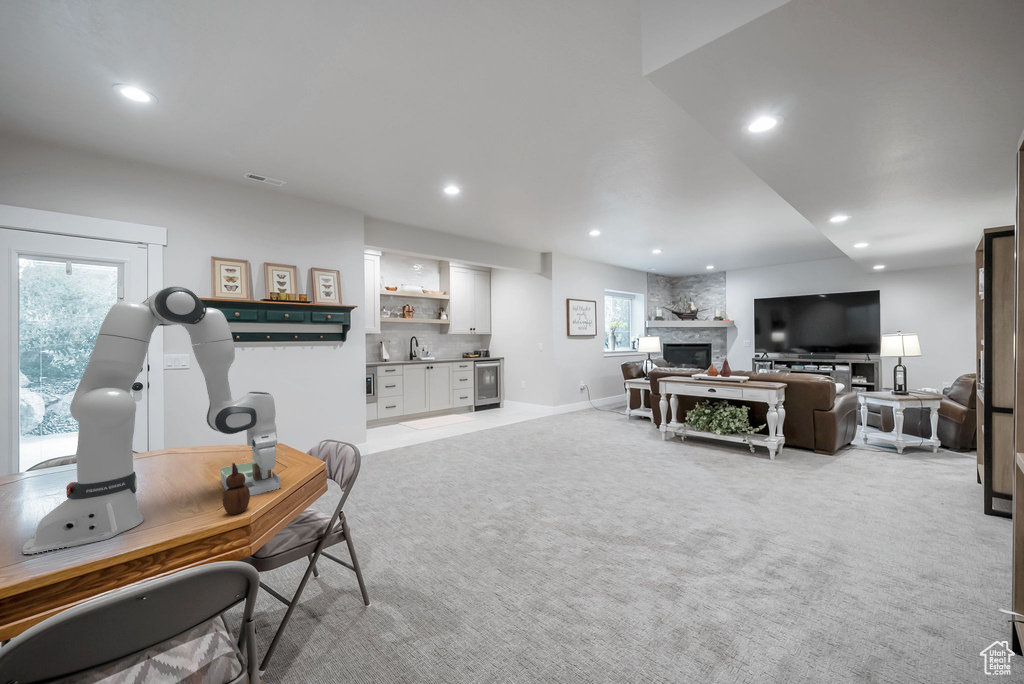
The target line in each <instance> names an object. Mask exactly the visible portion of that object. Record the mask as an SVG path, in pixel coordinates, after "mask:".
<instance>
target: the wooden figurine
mask: <svg viewBox="0 0 1024 684" xmlns="http://www.w3.org/2000/svg"><path fill="white" fill-rule="evenodd" d="M235 465H236V462H232V464H231V466H232V474H231V475H229V476H228V477H227V479H226V486H227V487H228V489H227V490H226V489H225V491H224V492H223V495H222V506H223V509H224V511H225V512H226V514H228V515H238V514H241V513H243V512H244V511H246V510H247V509H248V507H249V503H250V500H251V499H250V498H251V496H250V491H249V488H248V487H247V486H246V485H243V484H244V483H245V475H244V474H243V473H238V469H237V467H236V466H235Z"/></svg>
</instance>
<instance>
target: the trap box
mask: <svg viewBox="0 0 1024 684" xmlns="http://www.w3.org/2000/svg"><path fill="white" fill-rule="evenodd" d="M252 464H256V462H255V461H254V460H253V461H249V462H244V463H239V464H235V466H236V467H237V469H238V473H243V474H244V475H245V483H244V484H243V485H246V486H247V487H248V488H249V491H250V497H251V496H255V495H259V494H264V493H268V492H267V491H269V492H272V491H271V490H273V491H276V490H275V489H277V490H280V489H279V488H281V476H280V475H278V473H276V471H274V470H271V475H272V478H267V479H262V480H258V481H255V480H254V479H253V470H252ZM231 474H232V465H228V466H223V467H220V479H221V480H220V482H221V484H222V486H223V487H224V489H225V491H226V490H227V489H228V487H227V486H226V479H227V477H228V476H229V475H231Z"/></svg>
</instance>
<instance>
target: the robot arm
mask: <svg viewBox="0 0 1024 684" xmlns="http://www.w3.org/2000/svg"><path fill="white" fill-rule="evenodd" d="M173 325H174V326H175V325H176V326H177V325H181V326H182V327H183V328H184V329H185V330H186V331H187V333H188V335H189V339H190V345H191V346H192V351H193V353H194V356H195V360H196V361H197V364H198V367H199V368H200V371H201V372H202V375H203V377H204V379H205V386H206V389H207V394H208V400H209V407H208V410H207V414H206V423H207V425H208V426H209V428H210V429H212V430H213V431H215V432H219V433H222V434H224V435H234V434H237V433H241V432H244V431H246V445H247V446H249V447H251V449H252V459H253V461H255V462H256V463H257V465H258V466H259V469H260V476H261V478H262V479H266V478H268V470H270V469H271V470H274V469H275V466H276V457H277V456H276V455H277V451H276V450H277V448H276V446H277V445H278V437H277V436H278V435H277V434H278V433H277V425H276V422H275V421H276V420H275V419H276V415H277V414H276V406H275V399H274V397H273V395H272V394H271V393H269V392H264V391H250V392H247V393H246V394H245V395H243V396H242V397H240V398H239V399H236V400H235V401H234V400H233V397H232V391H231V387H230V382H229V372H230V369H231V367H232V364H233V363H234V362H235V361H234V360H235V356H236V351H235V343H234V342H235V341H234V339H233V335H232V331H231V328H230V325H229V323H228V320H227V318H226V316H225V314H224V313H223V311H222V310H220V309H217V308H215V307H214V308H213V307H207V305H206V304H205V303H203V301H202V300H201V299H200V298H199V297H198V296H197V295H196V294H195V292H194V291H191V289H189V288H185V287H182V286H170V287H166V288H164V289H163V288H162V289H160V290H158V291H156V292H154V293H153V294H151V296H149V297H148V298H146V299H145V300H144V301H142V302H139V301H138V302H137V301H134V300H124V301H119V302H115V303H114V304H113V305H112V306H111V308H110V309H109V311H108V312H107V314H106V316H105V318H104V319H103V322H102V324H101V326H100V329H99V331H98V333H97V337H96V340H95V342H94V346H93V349H92V352H91V354H90V357H89V361H88V364H87V366H86V368H85V370H84V372H83V375H82V376H81V378H80V380H79V383H78V385H77V388H76V390H75V393H74V394H73V398H72V400H71V403H70V407H69V410H70V415H71V417H72V418H73V419H74V420H75V421H77V422H78V435H77V436H78V437H77V446H76V452H75V455H76V456H75V457H76V460H75V461H76V475H77V476H76V477H77V481H72V482H70V483H68V484H67V486H66V488H65V489H66V499H65V501H62V502H61V503H60V504H59V505H57V506H55V508H54V509H52V510H51V511H50V512H49V513H47V514H46V515H45V516H44V517H42V519H41V520H40V521H39V523H38V525H37V527H36V529H35V536H34V537H32V538H30V539H29V540H27V541H26V542H25V543H24V544H23V545H22V549H21V550H22V551H23V553H26V554H32V555H34V554H33V553H37V552H42V553H44V552H43V551H47V552H49V551H48V550H52V549H57V550H60V549H59V548H62V549H65V548H64V547H67V548H70V547H76V546H81V545H85V544H89V543H90V544H91V543H94V542H95V543H96V542H99V541H106V540H109V539H111V538H113V537H115V536H116V535H118V534H121V533H123V532H125V531H128V530H131V529H133V528H135V527H137V526H138V525H141V523H143V522H144V520H145V519H144V517H143V515H142V513H141V509H140V507H139V504H138V503H139V502H138V500H137V494H136V492H137V489H138V484H137V483H138V482H137V473H136V472H135V470H134V456H133V454H134V453H133V441H134V433H135V426H136V425H135V424H136V412H137V403H136V400H135V398H134V397H133V395H131V391H132V388H133V386H134V384H135V382H136V380H137V378H138V376H139V375H140V373H141V372H142V369H143V367H144V363H145V360H146V356H147V353H148V350H149V346H150V343H151V339H152V334H153V333H154V331H155V329H156V328H158V327H159V326H163V327H165V326H173ZM22 551H21V552H22ZM52 551H53V550H52ZM23 553H22V554H23ZM37 554H38V553H37Z"/></svg>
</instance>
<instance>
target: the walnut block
mask: <svg viewBox="0 0 1024 684" xmlns="http://www.w3.org/2000/svg"><path fill="white" fill-rule="evenodd" d="M252 470H253V479H254V480H255V481H258V480H262V478H261V476H260V469H259V466H258V465H257V463H256V464H252ZM268 478H272V469H270V470H268ZM266 479H267V478H266Z"/></svg>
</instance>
